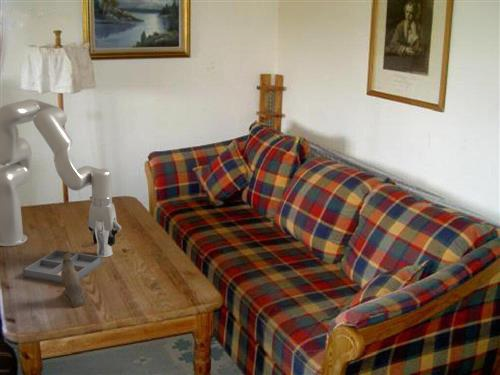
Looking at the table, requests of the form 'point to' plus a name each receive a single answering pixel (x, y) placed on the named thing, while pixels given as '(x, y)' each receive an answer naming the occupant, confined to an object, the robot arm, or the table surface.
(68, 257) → the brown carved statuette
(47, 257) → the gray compartment tray
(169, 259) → the table surface
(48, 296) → the table surface
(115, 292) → the table surface
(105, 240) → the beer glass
